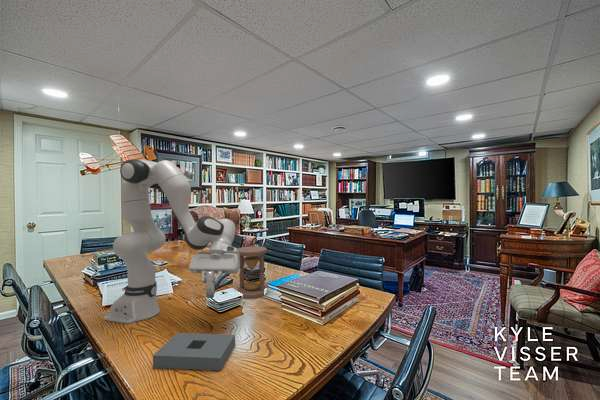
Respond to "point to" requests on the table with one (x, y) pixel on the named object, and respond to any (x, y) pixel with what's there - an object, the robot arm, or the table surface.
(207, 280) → the peg
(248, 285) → the hourglass
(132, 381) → the table surface
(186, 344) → the hole block
